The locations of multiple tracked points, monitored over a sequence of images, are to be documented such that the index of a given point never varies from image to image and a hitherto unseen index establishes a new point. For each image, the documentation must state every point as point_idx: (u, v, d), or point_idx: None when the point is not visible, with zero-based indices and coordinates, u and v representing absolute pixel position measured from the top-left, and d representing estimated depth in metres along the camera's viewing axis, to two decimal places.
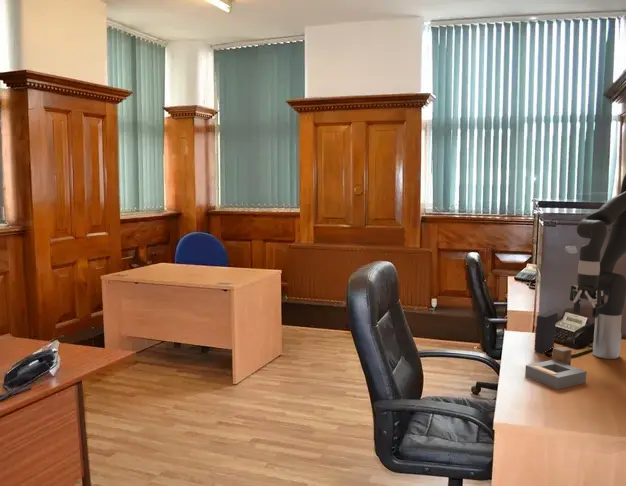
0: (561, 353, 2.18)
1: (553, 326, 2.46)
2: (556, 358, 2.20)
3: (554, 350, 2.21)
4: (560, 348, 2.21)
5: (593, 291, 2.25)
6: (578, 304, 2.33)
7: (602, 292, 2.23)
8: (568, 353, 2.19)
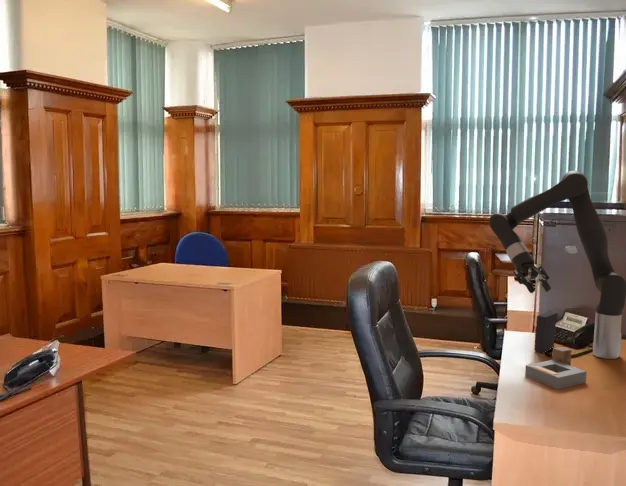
0: (561, 353, 2.18)
1: (553, 326, 2.46)
2: (556, 358, 2.20)
3: (554, 350, 2.21)
4: (560, 348, 2.21)
5: None
6: (544, 282, 2.31)
7: (515, 270, 2.30)
8: (568, 353, 2.19)
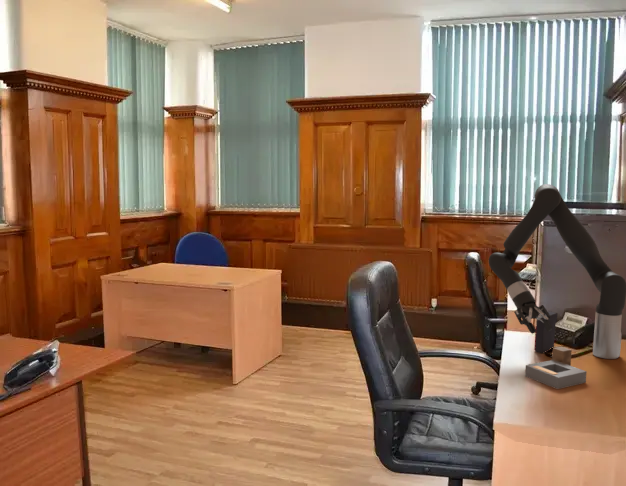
0: (561, 353, 2.18)
1: (553, 326, 2.46)
2: (556, 358, 2.20)
3: (554, 350, 2.21)
4: (560, 348, 2.21)
5: None
6: (545, 322, 2.32)
7: (516, 310, 2.30)
8: (568, 353, 2.19)
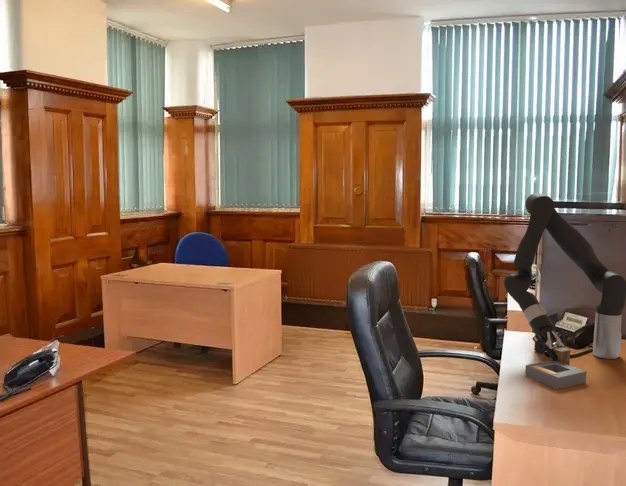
0: (560, 354, 2.18)
1: (553, 326, 2.46)
2: None
3: None
4: (559, 349, 2.20)
5: None
6: None
7: (535, 337, 2.22)
8: (567, 353, 2.19)
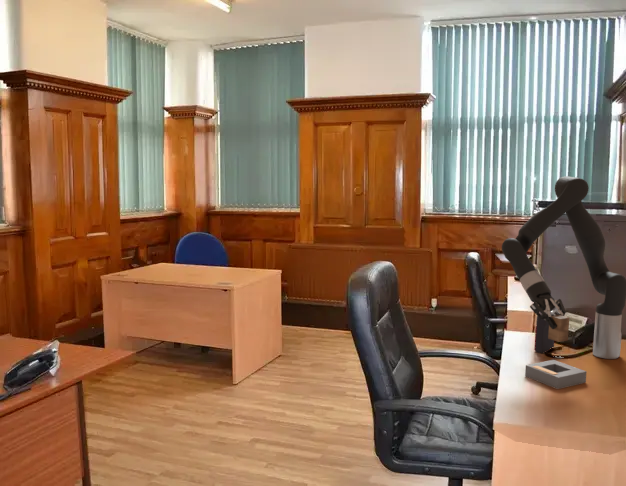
0: (558, 321, 2.06)
1: None
2: None
3: None
4: (558, 316, 2.09)
5: None
6: None
7: (532, 305, 2.11)
8: (566, 321, 2.07)
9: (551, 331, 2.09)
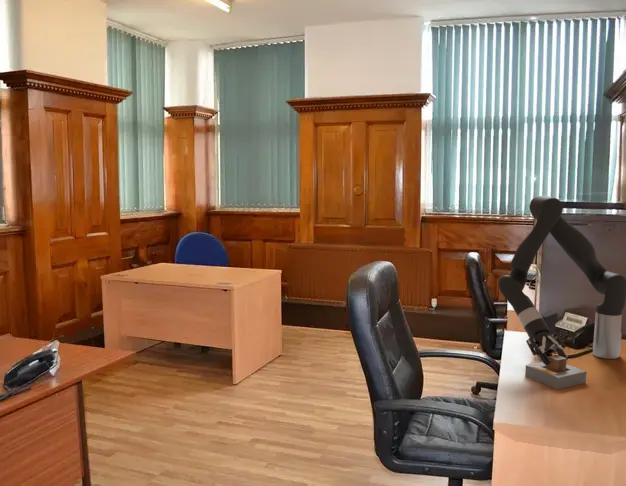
0: (555, 362, 2.08)
1: (553, 326, 2.46)
2: (550, 367, 2.10)
3: None
4: (555, 357, 2.11)
5: None
6: (560, 352, 2.14)
7: (528, 340, 2.13)
8: (563, 362, 2.09)
9: None
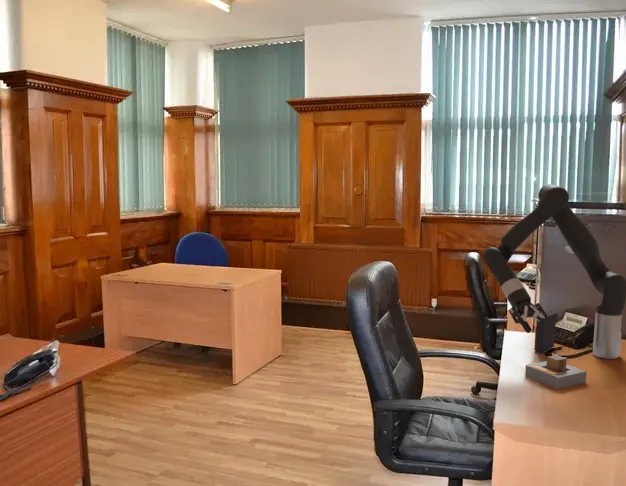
0: (555, 362, 2.08)
1: (553, 326, 2.46)
2: (550, 367, 2.10)
3: (548, 359, 2.11)
4: (555, 357, 2.11)
5: None
6: (541, 320, 2.21)
7: (511, 309, 2.20)
8: (563, 362, 2.09)
9: None
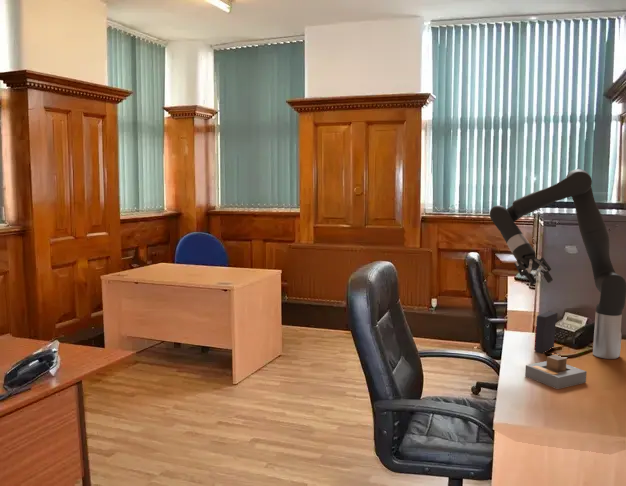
0: (555, 362, 2.08)
1: (553, 326, 2.46)
2: (550, 367, 2.10)
3: (548, 359, 2.11)
4: (555, 357, 2.11)
5: None
6: (545, 274, 2.31)
7: (516, 262, 2.29)
8: (563, 362, 2.09)
9: None
